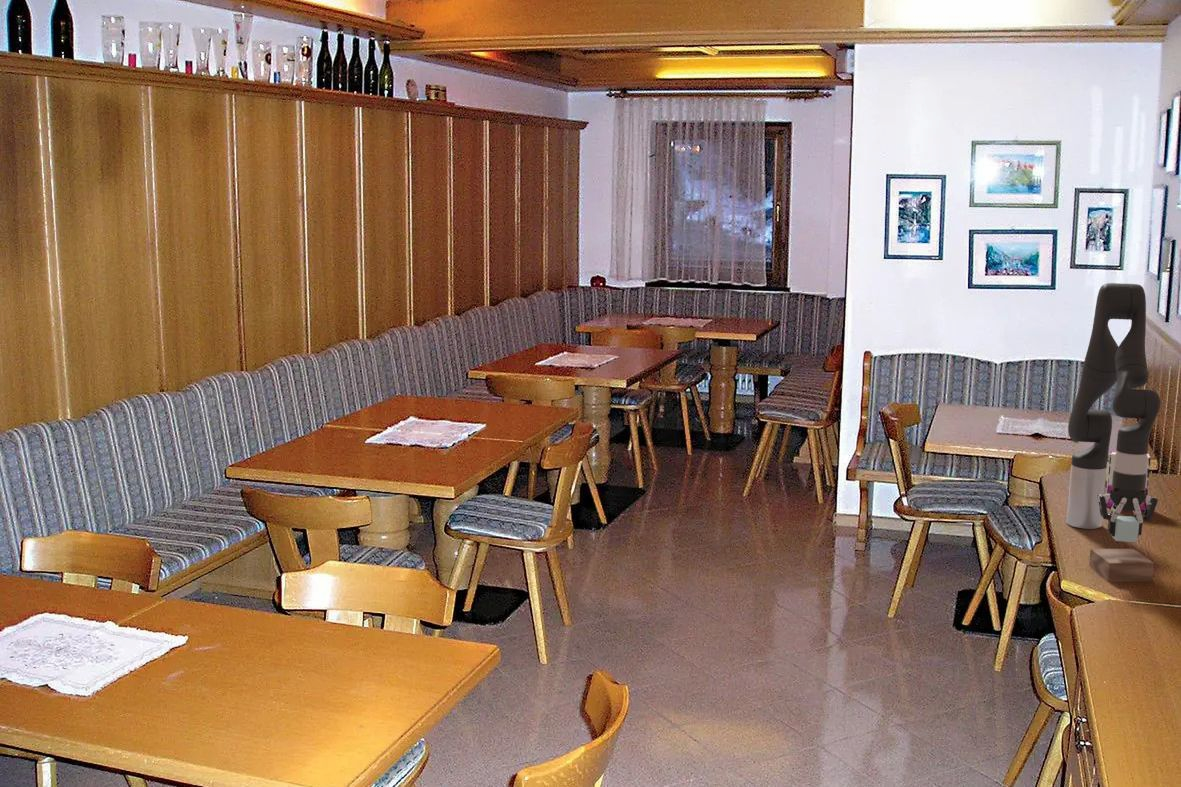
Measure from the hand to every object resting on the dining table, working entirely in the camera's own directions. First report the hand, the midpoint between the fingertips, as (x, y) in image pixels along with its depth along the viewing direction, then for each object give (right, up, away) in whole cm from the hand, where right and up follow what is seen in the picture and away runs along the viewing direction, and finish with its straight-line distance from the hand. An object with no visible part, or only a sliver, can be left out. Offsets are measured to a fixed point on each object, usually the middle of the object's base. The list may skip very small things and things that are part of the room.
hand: (1123, 535), depth 297 cm
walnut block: (0, -10, +2) cm, 10 cm away
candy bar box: (+27, +1, +61) cm, 66 cm away
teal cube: (0, -1, 0) cm, 1 cm away
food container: (+33, +5, +79) cm, 85 cm away
